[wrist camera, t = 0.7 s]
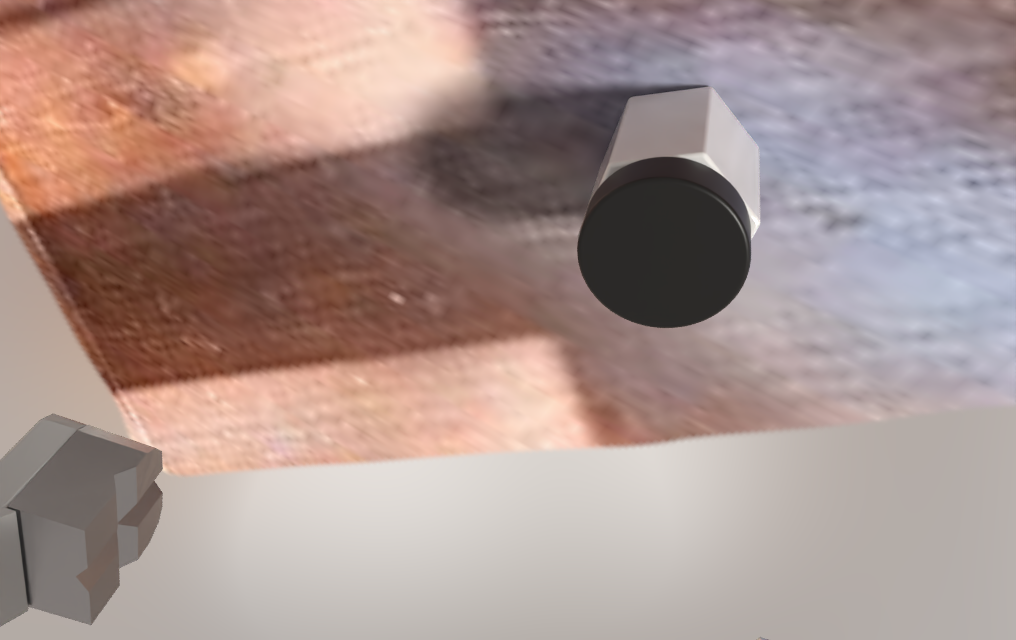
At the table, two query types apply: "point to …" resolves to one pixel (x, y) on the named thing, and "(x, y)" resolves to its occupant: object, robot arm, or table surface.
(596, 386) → the table surface
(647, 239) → the jar
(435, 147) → the table surface
